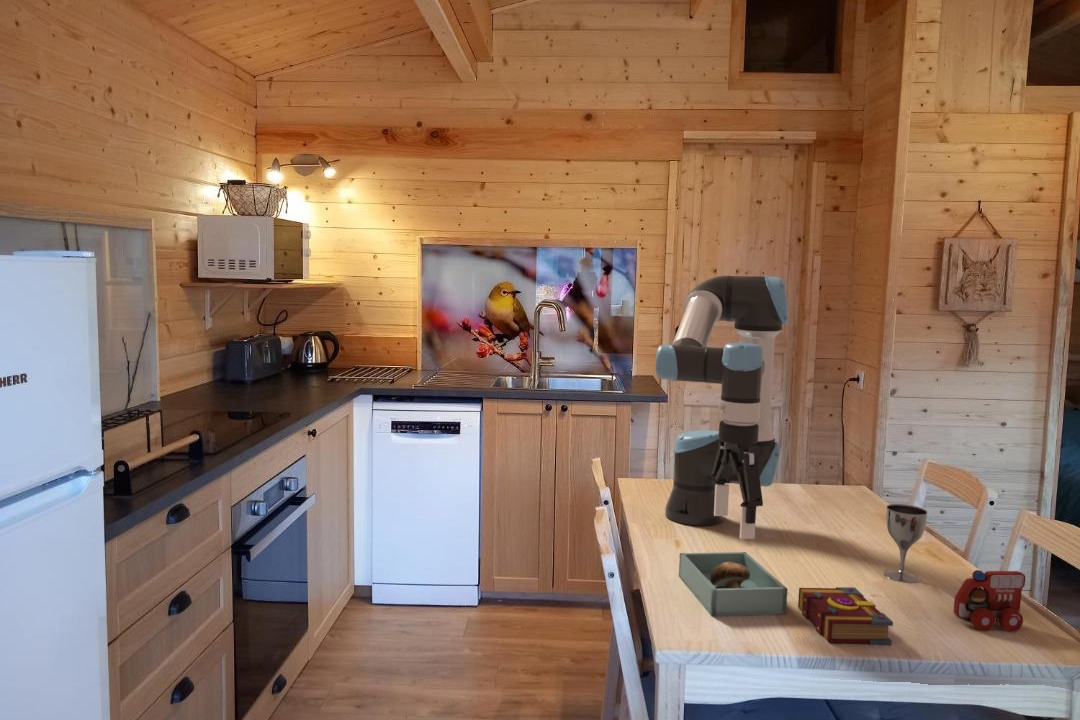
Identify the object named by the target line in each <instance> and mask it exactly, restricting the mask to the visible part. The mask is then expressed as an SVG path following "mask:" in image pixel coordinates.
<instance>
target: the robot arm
mask: <svg viewBox="0 0 1080 720" xmlns="http://www.w3.org/2000/svg"><path fill="white" fill-rule="evenodd" d="M787 294H788V293H787V286H786V282H785V280H784V279H783V278H781V277H776V276H768V275H762V276H761V275H760V276H759V275H754V276H753V275H720V276H719V275H718V276H715V277H712V278H709V279H707V280H705V281H703V282H701V283H698V285H696V286H695V287H694V288H693V289H691V291H690V292H689V293H688V294H687V296H686V298H685V300H684V302H683V306H682V308H683V310H682V311H683V316H682V318H681V321H680V324H679V326H678V329H677V331H676V334H675V336H674V339H673V341H672V344H661V345H659V346H658V347H657V350H656V355H655V374H656V376H657V378H658V379H660V380H667V381H673V382H677V381H678V382H693V383H708V384H720V385H721V395H720V404H719V405H718V410H719V418H720V419H721V421H720V422H718V423H719V425H718V430H709V429H705V430H701V429H700V430H691V431H687V432H681V433H680V434H678V436H677V437H676V439H675V446H674V450H673V452H674V465H673V467H674V468H673V483H672V484H673V485H672V489H671V492H670V495H669V497H668V500H667V502H666V505H665V509H664V510H665V512H664V516H665V517H666V518H667V519H668V520H670V521H673V522H676V523H678V524H679V523H680V524H683V525H689V526H690V525H691V526H700V527H701V526H704V527H705V526H713V525H718V524H720V523H722V522H723V518H724V517H725V516H726V517H727V516H728V513H729V512H728V511H729V496H730V495H729V494H730V485H729V484H734V485H736V484H737V485H739V489H740V493H741V497H742V498H741V499H742V501H743V502H741V503H740V504H739V507H740V521H739V522H740V524H739V539H740V540H755V538H756V537H755V536H756V520H757V507H758V508H759V507H762V506H764V505H763V504H764V501H763V494H762V493H763V492H762V487H771V485H772V484H773V483H774V480H775V476H776V472H777V467H778V462H779V456H780V451H781V443H780V442H778V441H776V435H775V433H774V432H773V431H772V430H771V429H770V428H771V427H770V426H771V411H772V409H771V408H772V392H773V374H774V361H775V359H774V358H775V341H776V337H777V336H778V335H779V334H780V333H782V331H783V325H784V326H785V325H787V324H789V312H788V297H787ZM717 322H731V323H734V325H733V326H734V327H733V329H734V331H735V332H737V334H738V335H739V342H728V343H726V344H725V345H724V346H723V347H710V346H708V345H709V342H710V340H711V336H712V333H713V329H714V326H715V324H716V323H717Z"/></svg>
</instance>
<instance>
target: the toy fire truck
mask: <svg viewBox="0 0 1080 720" xmlns="http://www.w3.org/2000/svg"><path fill="white" fill-rule="evenodd" d="M971 576H972V577H970V578H966V579H964V581H963V583H962V585H961V586H960V588H959V589H958V591H957V592H956V594H955V596H954V601H953V602H954V603H953V614H954V615H955V616H956V617H958V618H959V619H970V623H971V625H973V627H974V628H976V629H977V630H979V631H981V632H982V631H983V632H987V631H989V630H991V629H993V627H994V626H995V624H996V619H997V621H998V622H997V623H998V626H1000V627H1001V628H1002V629H1004V630H1005V631H1007V632H1016V631H1018V630H1020V629H1021V628H1022V626H1023V625H1024V624H1023V623H1024V617H1023V615H1022V614H1021V613H1020V611H1021V609H1020V608H1021V601H1022V600H1021V599H1022V592H1023V591H1022V590H1023V589H1024V587H1025V586H1026V575H1025V574H1024V573H1022V572H1021V571H1018V570H1012V571H1011V570H1007V571H1006V570H987V571H985V572H984V571H982V570H980V569H976V570H974V571H973V572H972V575H971Z"/></svg>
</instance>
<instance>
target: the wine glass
mask: <svg viewBox="0 0 1080 720" xmlns="http://www.w3.org/2000/svg"><path fill="white" fill-rule="evenodd" d="M885 508H886V509H885V511H886V512H885V522H886V530H887V532H888V534H889V535H890V537H891V539H893V541H894V542H895V543H896V545H897V547H898V548H899V554H900V556H899V557H900V563H899V564H900V566H899V567H900V568H899V570H898V569H889V570H885V571H884V572H883V576H884V577H886V578H887V579H890V580H892V581H897V582H901V583H906V584H907V583H908V584H912V583H918V582H920V577H918V575H916V574H914V573H911V572H908V571H905V562H906V557H907V553H908V550H909V549H910V548H911V547H912V546H913V545H915V544H916V543H917V542H918V541H919V540H921V539H922V537H923V535H924V533H925V530H926V526H927V520H928V511H927V510H926V509H924V508H922V507H920V506H916V505H915V506H914V505H910V504H905V503H904V504H903V503H891V504H887V505H886V507H885Z"/></svg>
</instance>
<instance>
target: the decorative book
mask: <svg viewBox="0 0 1080 720" xmlns="http://www.w3.org/2000/svg"><path fill="white" fill-rule="evenodd" d="M797 607H798V609H800V611H801V612H802V614H801V615H802V616H803V618H804V619H805V620H808V621H810V623H811V624H812V625H813V626H814V627H815V631H816V633H818V635H819V634H820V635H823V636H822V637H824V638H825V640H826V641H827V642H828V643H842V644H843V643H844V644H845V643H846V644H848V643H849V644H850V643H851V644H852V643H853V644H857V643H858V644H870V645H879V646H880V645H881V646H883V645H885V646H886V645H889V646H891V645H892V643H893V641H892V640H891V638H889V636H888V634H889V627H893V626H894V621H892V619H890V618H889V617H888V616H887V615H886V614H885V613H884V612H881V611H880V610H878V608H876V604H875V603H874V602H873V601H872V600H871V601H870V600H868V599H867V598H865V595H864V594H863V593H861V592H860V591H859V590H858V589H857V588H856V587H851V586H849V587H847V586H846V587H843V586H842V587H839V586H837V587H832V588H831V587H799V588H798V602H797ZM820 635H819V636H820Z"/></svg>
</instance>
